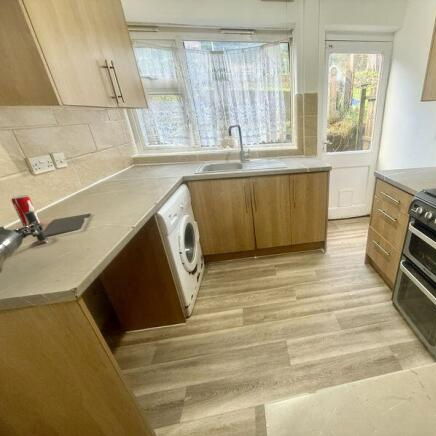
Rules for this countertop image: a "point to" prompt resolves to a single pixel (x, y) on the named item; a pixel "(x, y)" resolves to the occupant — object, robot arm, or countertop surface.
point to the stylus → (32, 217)
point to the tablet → (65, 225)
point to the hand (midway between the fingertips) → (19, 226)
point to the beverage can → (23, 208)
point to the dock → (38, 243)
